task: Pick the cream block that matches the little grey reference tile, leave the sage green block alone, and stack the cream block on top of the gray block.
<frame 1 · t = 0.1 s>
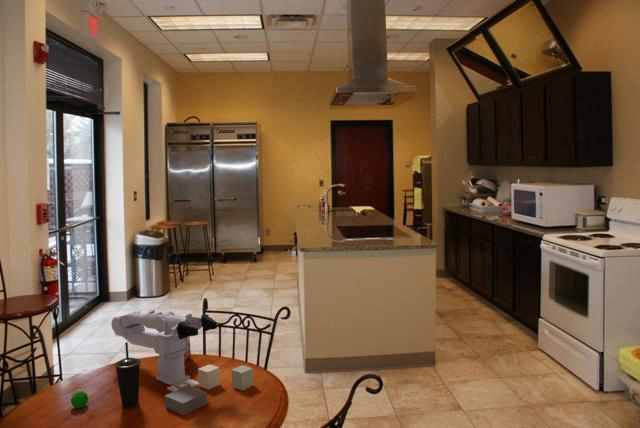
hand: (206, 328, 167), 22 cm above the table, tool horizontal, fingers open, 7 cm apart
cream block: (209, 385, 175), on the table
candy bar box: (178, 363, 197), on the table
green ball: (80, 407, 162), on the table
reference tile: (183, 386, 174), on the table
sage block: (242, 386, 173), on the table
drinking cup: (130, 405, 162), on the table
gray block: (186, 406, 160), on the table
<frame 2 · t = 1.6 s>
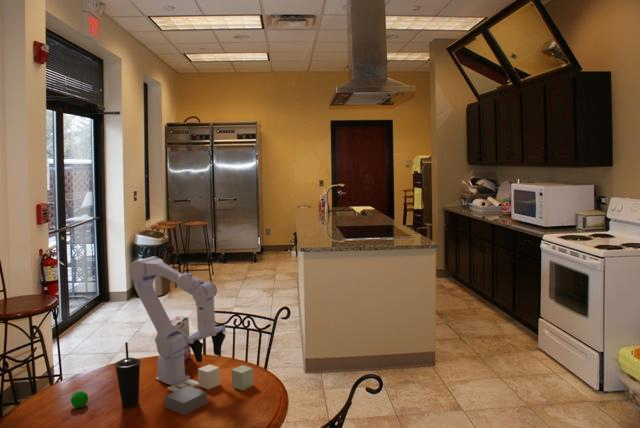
hand: (208, 358, 174), 9 cm above the table, tool pointing down, fingers open, 7 cm apart
nothing on the table moved.
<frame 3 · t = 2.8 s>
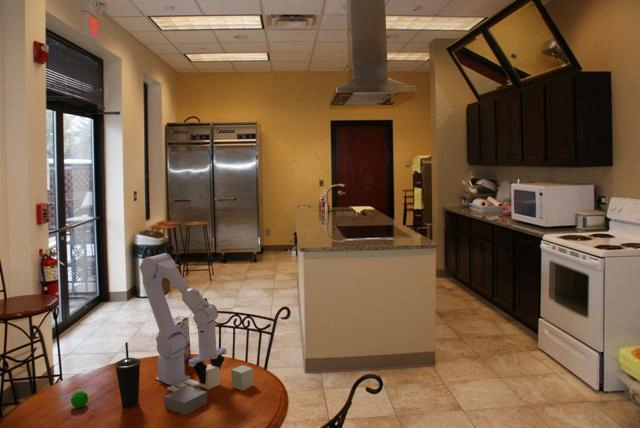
hand: (209, 380, 175), 2 cm above the table, tool pointing down, fingers closed on cream block, 5 cm apart
cream block: (209, 385, 175), on the table, touching gripper
everything else where it was.
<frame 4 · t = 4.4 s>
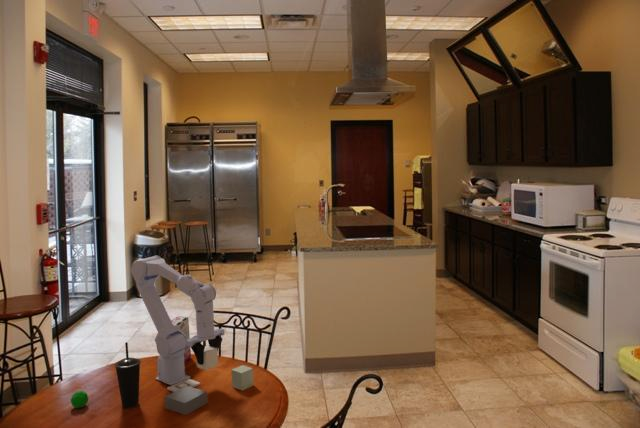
hand: (207, 361, 173), 9 cm above the table, tool pointing down, fingers closed on cream block, 5 cm apart
cream block: (207, 366, 174), point 7 cm above the table, touching gripper
everything else where it was.
when the fingers open (7 cm above the table, at t = 6.1 s): cream block drops 2 cm, resting on gray block.
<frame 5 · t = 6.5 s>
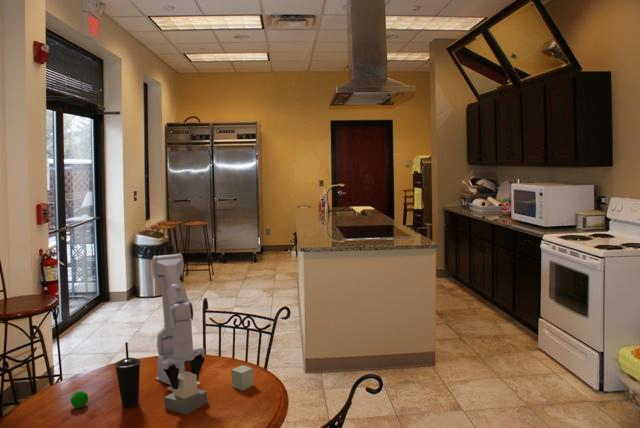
hand: (185, 384, 160), 7 cm above the table, tool pointing down, fingers open, 7 cm apart
cream block: (185, 394, 160), point 4 cm above the table, touching gray block
gray block: (186, 406, 160), on the table, touching cream block
everything else where it was.
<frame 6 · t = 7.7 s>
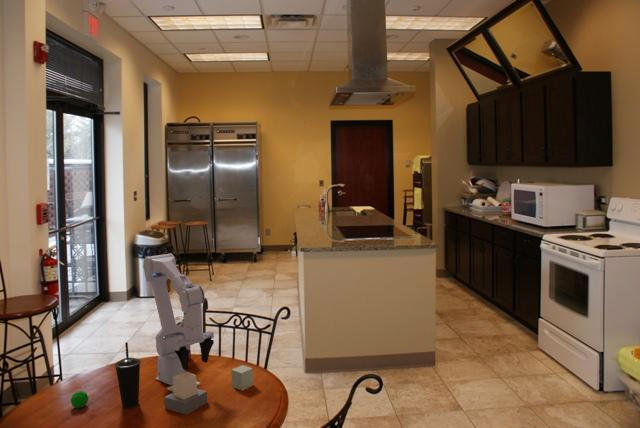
hand: (195, 365, 167), 10 cm above the table, tool pointing down, fingers open, 7 cm apart
nothing on the table moved.
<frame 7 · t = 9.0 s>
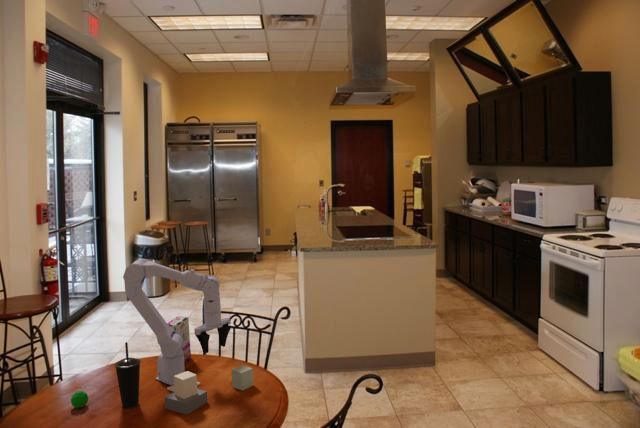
hand: (214, 349, 181), 10 cm above the table, tool pointing down, fingers open, 7 cm apart
nothing on the table moved.
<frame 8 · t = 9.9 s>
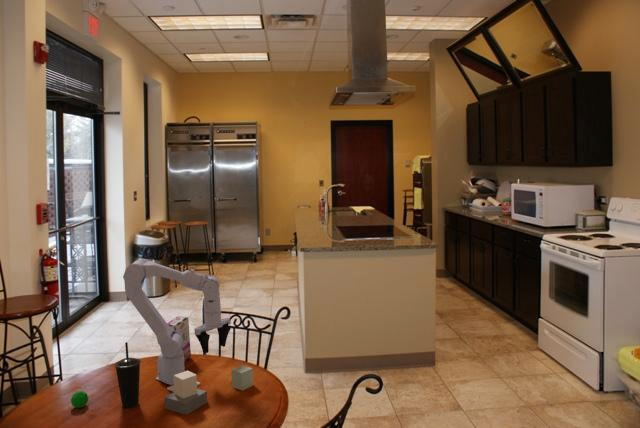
hand: (214, 349, 181), 10 cm above the table, tool pointing down, fingers open, 7 cm apart
cream block: (185, 393, 160), point 4 cm above the table
gray block: (186, 406, 160), on the table
everything else where it was.
at the end: cream block 0.1 cm off-centre on the gray block, point 4.1 cm above the gray block's base; cream block tilted 1°; sage block moved 0.1 cm from its start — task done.
